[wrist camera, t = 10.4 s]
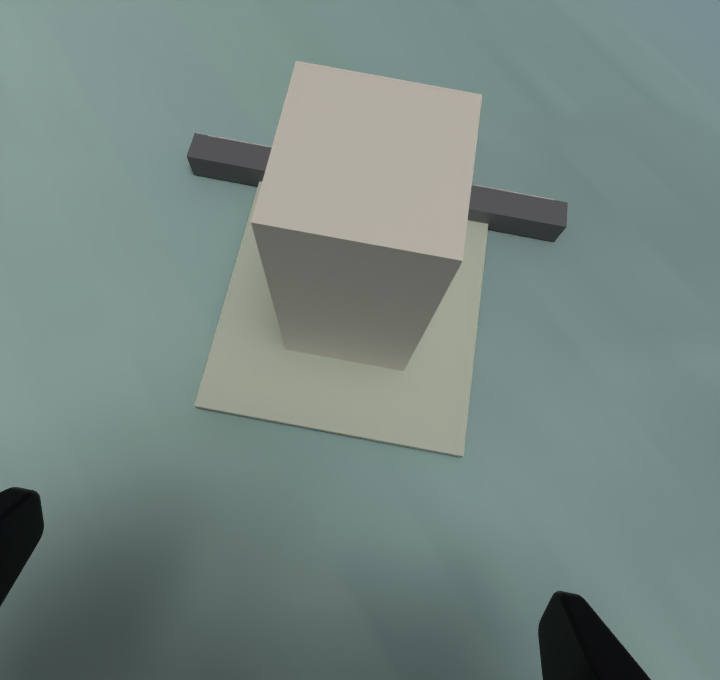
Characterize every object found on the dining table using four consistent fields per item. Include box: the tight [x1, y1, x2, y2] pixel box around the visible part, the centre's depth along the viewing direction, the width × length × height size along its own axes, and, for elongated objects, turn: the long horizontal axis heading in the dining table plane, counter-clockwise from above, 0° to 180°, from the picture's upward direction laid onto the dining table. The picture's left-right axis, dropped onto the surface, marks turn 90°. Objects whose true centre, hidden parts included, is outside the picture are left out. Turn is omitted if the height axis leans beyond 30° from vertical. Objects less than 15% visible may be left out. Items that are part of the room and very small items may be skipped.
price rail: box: [187, 133, 567, 242], centre depth 22 cm, size 16×1×1 cm, turn 80°
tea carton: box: [251, 61, 482, 371], centre depth 16 cm, size 5×5×9 cm
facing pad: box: [194, 181, 488, 457], centre depth 20 cm, size 10×10×1 cm
